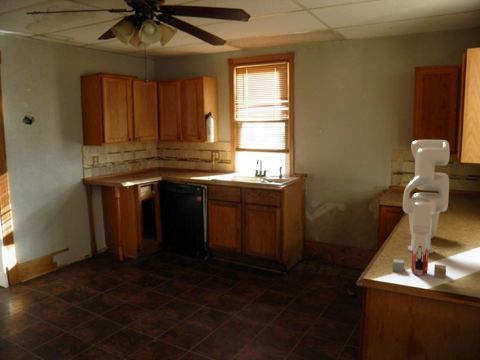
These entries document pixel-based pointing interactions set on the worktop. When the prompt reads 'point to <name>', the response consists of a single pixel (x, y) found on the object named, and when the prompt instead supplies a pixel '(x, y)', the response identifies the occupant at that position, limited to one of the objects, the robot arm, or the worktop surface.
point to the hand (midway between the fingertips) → (419, 266)
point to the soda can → (425, 264)
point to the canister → (434, 223)
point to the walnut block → (440, 271)
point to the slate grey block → (398, 265)
